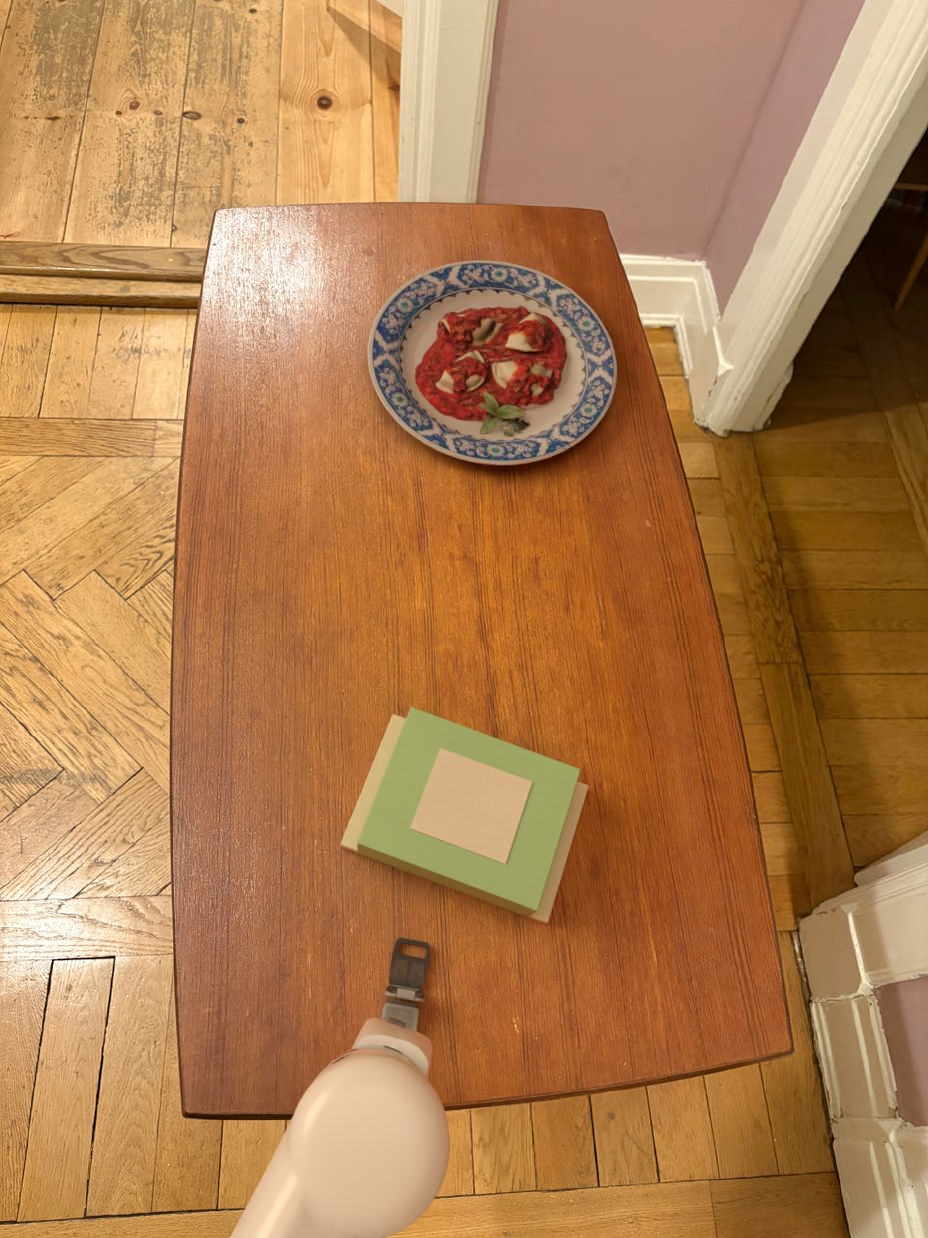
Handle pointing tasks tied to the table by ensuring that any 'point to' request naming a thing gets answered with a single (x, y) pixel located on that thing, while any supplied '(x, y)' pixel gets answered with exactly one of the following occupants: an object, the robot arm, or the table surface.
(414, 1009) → the strap clip
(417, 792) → the green block with label
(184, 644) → the table surface
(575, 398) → the ceramic plate
